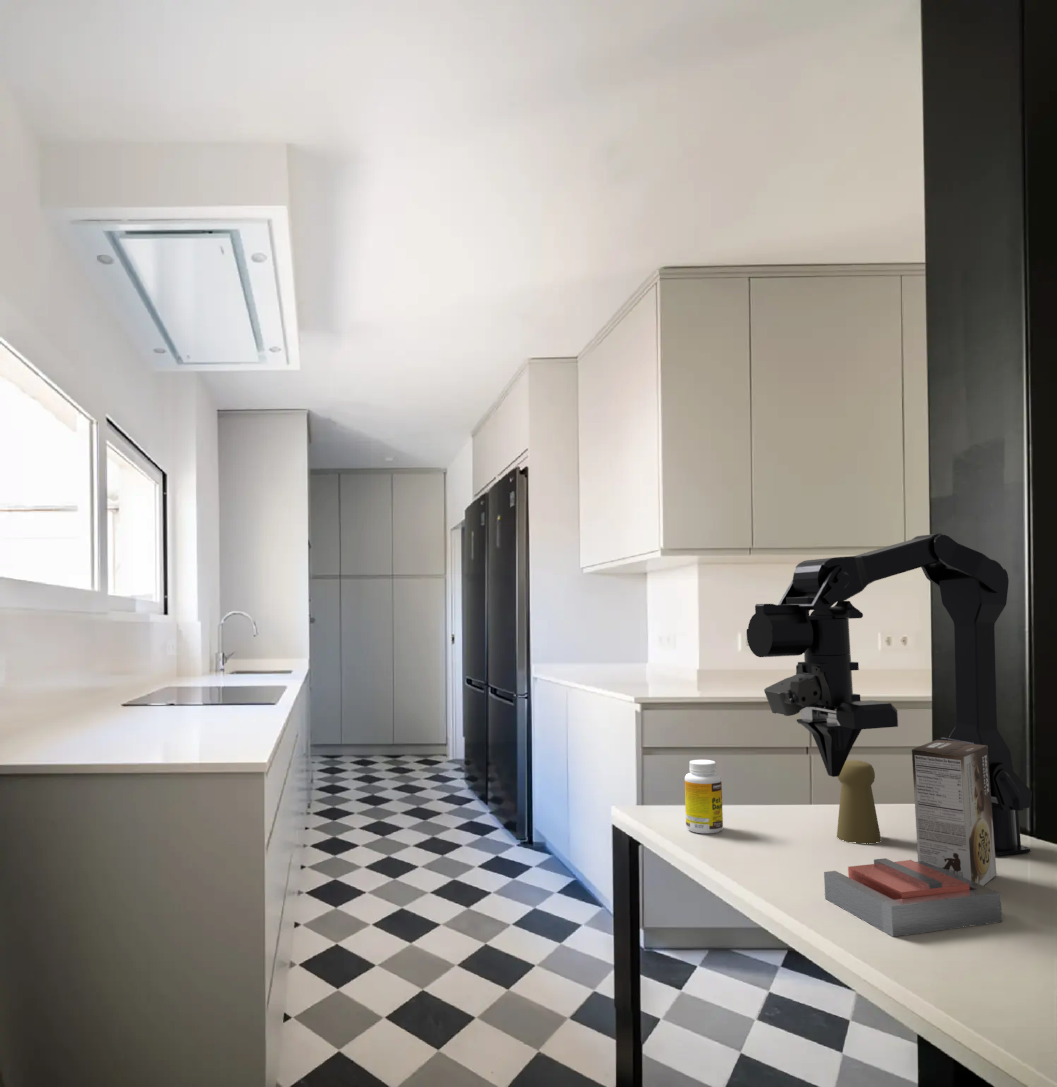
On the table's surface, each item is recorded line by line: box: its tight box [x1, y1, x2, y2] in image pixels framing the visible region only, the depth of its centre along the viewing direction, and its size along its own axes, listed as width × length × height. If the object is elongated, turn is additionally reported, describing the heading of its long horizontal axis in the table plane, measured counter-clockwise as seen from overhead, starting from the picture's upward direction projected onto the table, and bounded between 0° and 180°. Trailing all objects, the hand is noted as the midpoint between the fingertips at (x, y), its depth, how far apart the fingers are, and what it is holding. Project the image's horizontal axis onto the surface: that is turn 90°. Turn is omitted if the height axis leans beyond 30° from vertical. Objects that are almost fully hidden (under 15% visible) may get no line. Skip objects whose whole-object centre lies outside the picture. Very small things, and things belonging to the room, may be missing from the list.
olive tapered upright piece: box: [836, 759, 882, 845], centre depth 118 cm, size 6×6×11 cm
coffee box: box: [911, 739, 997, 886], centre depth 100 cm, size 9×6×16 cm
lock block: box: [847, 858, 970, 900], centre depth 90 cm, size 8×9×4 cm
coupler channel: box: [823, 860, 1003, 938], centre depth 90 cm, size 14×12×3 cm
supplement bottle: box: [684, 759, 724, 835], centre depth 124 cm, size 6×6×10 cm
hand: (833, 776), depth 105 cm, fingers closed
